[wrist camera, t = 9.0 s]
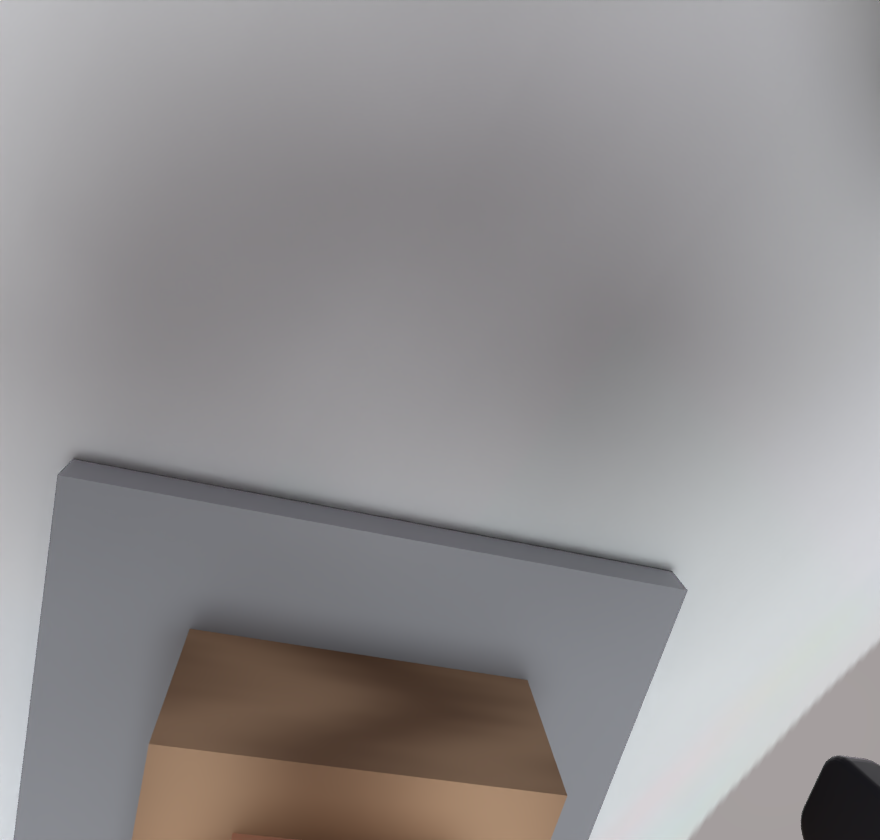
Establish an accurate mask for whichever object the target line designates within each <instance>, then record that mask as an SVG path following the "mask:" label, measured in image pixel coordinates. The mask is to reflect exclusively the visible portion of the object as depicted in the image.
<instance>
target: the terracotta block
mask: <svg viewBox="0 0 880 840" xmlns="http://www.w3.org/2000/svg"><path fill="white" fill-rule="evenodd" d="M231 840H296V839H286V838H277V837H267V836H258V835H248V834H239V833H233V834H232V838H231Z"/></svg>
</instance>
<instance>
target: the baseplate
mask: <svg viewBox="0 0 880 840" xmlns="http://www.w3.org/2000/svg"><path fill="white" fill-rule="evenodd" d="M686 593H687V589H686V588H685V587H684V585H683V584H682V583H681V582H680V580H679V579H678V578H677V577H676V575H675V574H674V573H673V572H672V571H667V570H661V569H656V568H651V567H645V566H640V565H635V564H629V563H624V562H619V561H613V560H608V559H603V558H597V557H592V556H587V555H581V554H576V553H571V552H565V551H560V550H555V549H549V548H544V547H539V546H533V545H528V544H523V543H517V542H512V541H507V540H501V539H496V538H491V537H485V536H480V535H475V534H469V533H464V532H459V531H453V530H448V529H443V528H437V527H432V526H427V525H421V524H416V523H411V522H405V521H400V520H395V519H389V518H384V517H379V516H373V515H368V514H363V513H358V512H352V511H347V510H342V509H336V508H331V507H326V506H320V505H315V504H310V503H304V502H299V501H294V500H288V499H283V498H278V497H272V496H267V495H262V494H256V493H251V492H246V491H240V490H235V489H230V488H224V487H219V486H214V485H208V484H203V483H198V482H192V481H187V480H182V479H176V478H171V477H166V476H160V475H155V474H150V473H144V472H139V471H134V470H128V469H123V468H118V467H112V466H107V465H102V464H96V463H91V462H86V461H80V460H75V459H73V460H72V461H71V462H70V463H69V464H68V465H67V466H66V467H65V468H64V469H63V470H62V471H61V472H60V473H59V474H58V476H57V485H56V493H55V501H54V509H53V518H52V526H51V534H50V543H49V551H48V559H47V568H46V576H45V584H44V592H43V601H42V609H41V617H40V626H39V634H38V642H37V650H36V659H35V667H34V675H33V684H32V692H31V700H30V708H29V717H28V725H27V733H26V742H25V750H24V758H23V766H22V775H21V783H20V791H19V800H18V808H17V816H16V825H15V833H14V840H132V836H133V830H134V824H135V819H136V813H137V807H138V802H139V796H140V791H141V785H142V779H143V774H144V768H145V762H146V757H147V751H148V746H149V742H150V739H151V736H152V733H153V731H154V728H155V725H156V722H157V719H158V717H159V714H160V711H161V708H162V705H163V702H164V700H165V697H166V694H167V691H168V688H169V686H170V683H171V680H172V677H173V674H174V671H175V669H176V666H177V663H178V660H179V657H180V655H181V652H182V649H183V646H184V643H185V640H186V638H187V635H188V632H189V629H195V630H202V631H209V632H215V633H222V634H228V635H235V636H241V637H248V638H254V639H261V640H268V641H274V642H281V643H287V644H294V645H300V646H307V647H313V648H320V649H327V650H333V651H340V652H346V653H353V654H359V655H366V656H373V657H379V658H386V659H392V660H399V661H405V662H412V663H418V664H425V665H432V666H438V667H445V668H451V669H458V670H464V671H471V672H478V673H484V674H491V675H497V676H504V677H510V678H517V679H523V680H528V683H529V686H530V689H531V692H532V695H533V698H534V700H535V703H536V706H537V709H538V712H539V715H540V718H541V721H542V724H543V727H544V729H545V732H546V735H547V738H548V741H549V744H550V747H551V750H552V753H553V756H554V758H555V761H556V764H557V767H558V770H559V773H560V776H561V779H562V782H563V785H564V787H565V790H566V793H567V798H566V801H565V803H564V806H563V809H562V811H561V814H560V816H559V819H558V822H557V824H556V827H555V830H554V832H553V835H552V837H551V840H588V839H589V836H590V834H591V831H592V829H593V826H594V824H595V821H596V819H597V816H598V814H599V811H600V809H601V806H602V804H603V801H604V799H605V796H606V794H607V791H608V789H609V786H610V784H611V781H612V779H613V776H614V774H615V771H616V769H617V766H618V764H619V761H620V758H621V756H622V753H623V751H624V748H625V746H626V743H627V741H628V738H629V736H630V733H631V731H632V728H633V726H634V723H635V721H636V718H637V716H638V713H639V711H640V708H641V706H642V703H643V701H644V698H645V696H646V693H647V691H648V688H649V686H650V683H651V681H652V678H653V676H654V673H655V671H656V668H657V666H658V663H659V661H660V658H661V656H662V653H663V651H664V648H665V646H666V643H667V641H668V638H669V636H670V633H671V631H672V628H673V625H674V623H675V620H676V618H677V615H678V613H679V610H680V608H681V605H682V603H683V600H684V598H685V595H686Z"/></svg>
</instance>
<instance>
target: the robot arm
mask: <svg viewBox="0 0 880 840" xmlns="http://www.w3.org/2000/svg"><path fill="white" fill-rule="evenodd" d="M801 830H802V835H803V839H804V840H880V765H878V764H877V763H875V762H873V761H870V760H868V759H864V758H856V757H847V756H834V757H831V758H830V759H829V760H828V761H826V763H825V764H824V766H823V768H822V770H821V772H820V774H819V776H818V778H817V781H816V783H815V785H814V787H813V789H812V791H811V793H810V795H809V798H808V800H807V802H806V804H805V806H804V808H803V811H802V815H801Z"/></svg>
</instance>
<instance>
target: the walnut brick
mask: <svg viewBox="0 0 880 840" xmlns="http://www.w3.org/2000/svg"><path fill="white" fill-rule="evenodd" d="M566 798H567V793H566V790H565V787H564V785H563V782H562V779H561V776H560V773H559V770H558V767H557V764H556V761H555V758H554V756H553V753H552V750H551V747H550V744H549V741H548V738H547V735H546V732H545V729H544V727H543V724H542V721H541V718H540V715H539V712H538V709H537V706H536V703H535V700H534V698H533V695H532V692H531V689H530V686H529V683H528V680H523V679H517V678H510V677H504V676H497V675H491V674H484V673H478V672H471V671H464V670H458V669H451V668H445V667H438V666H432V665H425V664H418V663H412V662H405V661H399V660H392V659H386V658H379V657H373V656H366V655H359V654H353V653H346V652H340V651H333V650H327V649H320V648H313V647H307V646H300V645H294V644H287V643H281V642H274V641H268V640H261V639H254V638H248V637H241V636H235V635H228V634H222V633H215V632H209V631H202V630H195V629H189V632H188V635H187V638H186V640H185V643H184V646H183V649H182V652H181V655H180V657H179V660H178V663H177V666H176V669H175V671H174V674H173V677H172V680H171V683H170V686H169V688H168V691H167V694H166V697H165V700H164V702H163V705H162V708H161V711H160V714H159V717H158V719H157V722H156V725H155V728H154V731H153V733H152V736H151V739H150V742H149V746H148V751H147V757H146V762H145V768H144V774H143V779H142V785H141V791H140V796H139V802H138V807H137V813H136V819H135V824H134V830H133V836H132V840H231V838H232V834H233V833H239V834H248V835H258V836H267V837H277V838H286V839H296V840H551V837H552V835H553V832H554V830H555V827H556V824H557V822H558V819H559V816H560V814H561V811H562V809H563V806H564V803H565V801H566Z"/></svg>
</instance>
